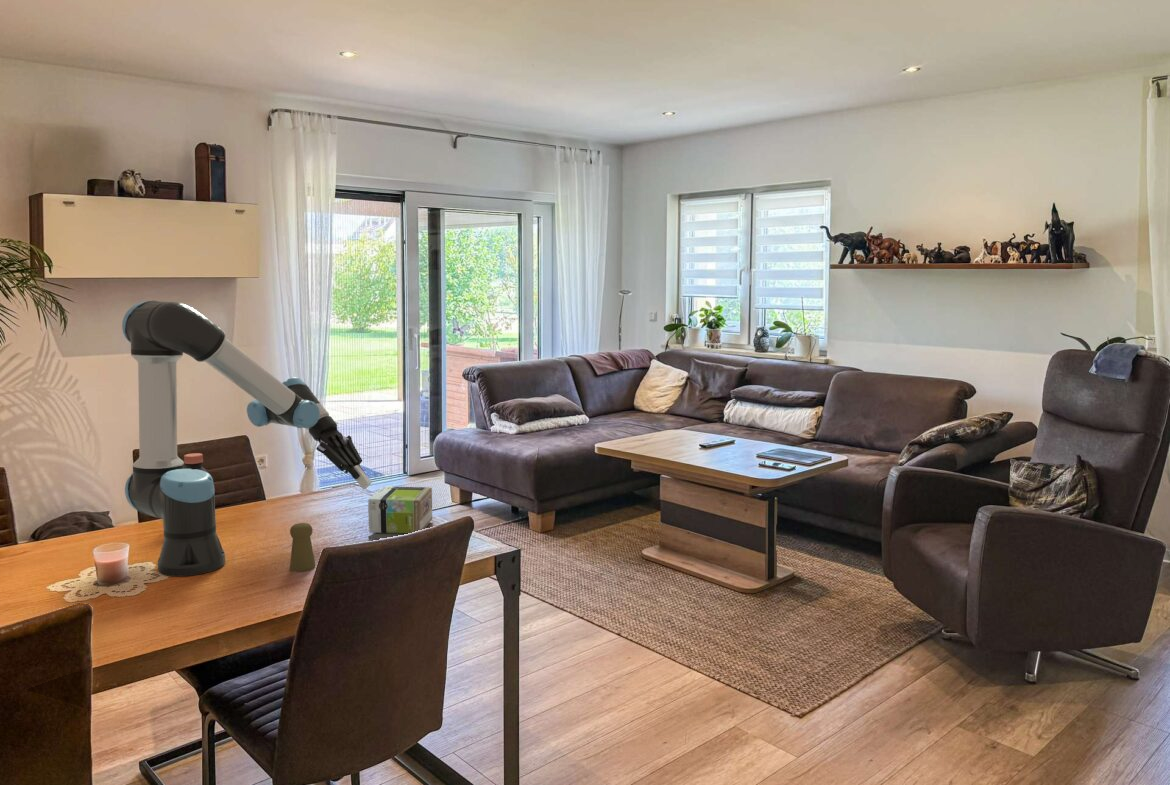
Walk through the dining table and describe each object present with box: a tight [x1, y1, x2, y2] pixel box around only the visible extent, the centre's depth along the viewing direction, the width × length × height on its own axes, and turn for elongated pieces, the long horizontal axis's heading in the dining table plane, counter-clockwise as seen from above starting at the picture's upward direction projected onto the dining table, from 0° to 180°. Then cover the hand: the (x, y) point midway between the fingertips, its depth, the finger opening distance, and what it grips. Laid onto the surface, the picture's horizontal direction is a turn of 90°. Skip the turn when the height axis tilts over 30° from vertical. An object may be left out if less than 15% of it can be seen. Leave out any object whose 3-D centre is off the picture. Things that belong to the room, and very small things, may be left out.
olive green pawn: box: [289, 522, 316, 573], centre depth 209 cm, size 6×6×11 cm
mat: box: [368, 526, 428, 540], centre depth 237 cm, size 14×10×1 cm
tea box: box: [367, 486, 433, 534], centre depth 242 cm, size 15×10×15 cm
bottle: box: [183, 452, 208, 473], centre depth 246 cm, size 7×7×20 cm
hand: (367, 485), depth 240 cm, fingers closed
